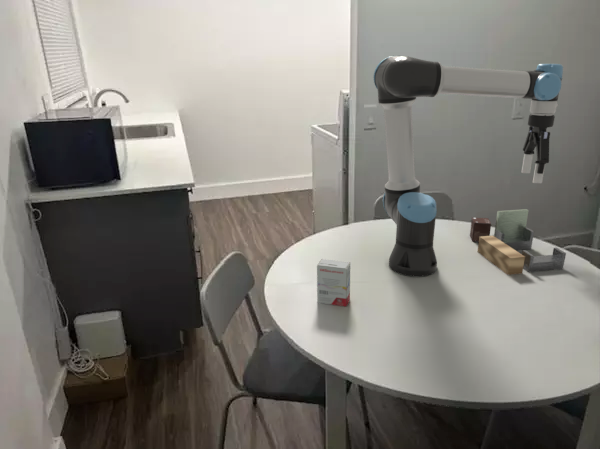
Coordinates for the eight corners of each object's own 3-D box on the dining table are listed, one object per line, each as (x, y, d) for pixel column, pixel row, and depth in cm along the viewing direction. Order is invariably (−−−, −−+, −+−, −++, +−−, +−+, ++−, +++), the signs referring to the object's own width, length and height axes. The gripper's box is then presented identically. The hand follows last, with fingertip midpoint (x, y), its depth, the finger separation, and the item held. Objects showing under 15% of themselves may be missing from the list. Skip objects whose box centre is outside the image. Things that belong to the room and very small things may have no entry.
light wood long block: (522, 274, 146) (525, 256, 144) (507, 275, 145) (510, 257, 143) (490, 251, 163) (492, 235, 161) (477, 252, 162) (479, 236, 160)
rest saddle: (528, 272, 147) (531, 256, 145) (519, 265, 151) (522, 250, 149) (563, 268, 148) (566, 253, 146) (553, 262, 152) (556, 247, 151)
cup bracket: (499, 251, 162) (504, 216, 157) (491, 245, 167) (496, 211, 162) (531, 248, 164) (537, 213, 159) (522, 243, 168) (527, 208, 164)
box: (489, 242, 170) (491, 223, 167) (471, 241, 171) (473, 222, 168) (486, 236, 175) (488, 218, 173) (469, 235, 176) (471, 217, 174)
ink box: (350, 299, 133) (351, 261, 128) (346, 307, 128) (347, 268, 124) (321, 294, 135) (321, 257, 131) (316, 302, 131) (316, 264, 127)
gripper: (568, 119, 139) (555, 187, 146) (542, 109, 162) (532, 169, 170) (541, 118, 140) (529, 186, 148) (519, 109, 163) (510, 168, 171)
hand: (531, 177), depth 159 cm, fingers open, 13 cm apart
